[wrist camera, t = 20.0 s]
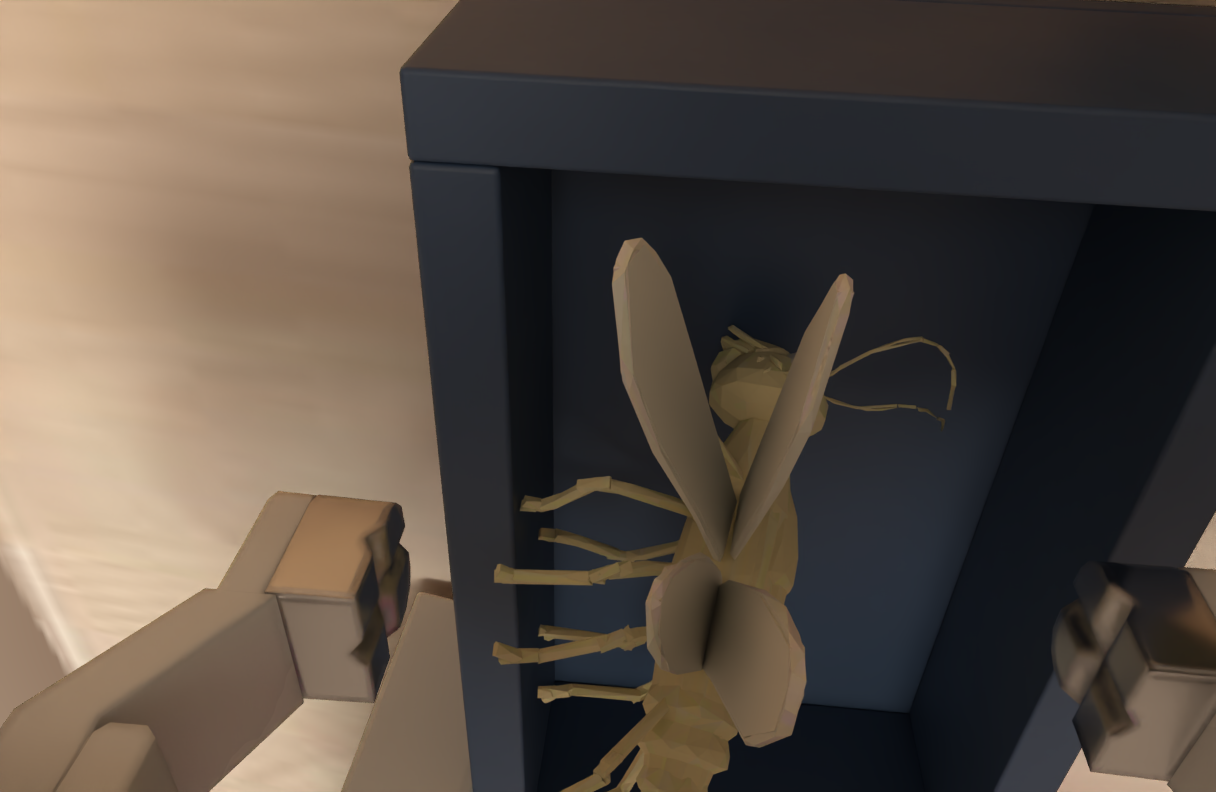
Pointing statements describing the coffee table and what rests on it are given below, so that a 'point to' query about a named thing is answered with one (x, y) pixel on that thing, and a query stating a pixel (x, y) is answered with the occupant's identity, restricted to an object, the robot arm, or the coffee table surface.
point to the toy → (703, 533)
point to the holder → (879, 314)
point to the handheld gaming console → (418, 712)
